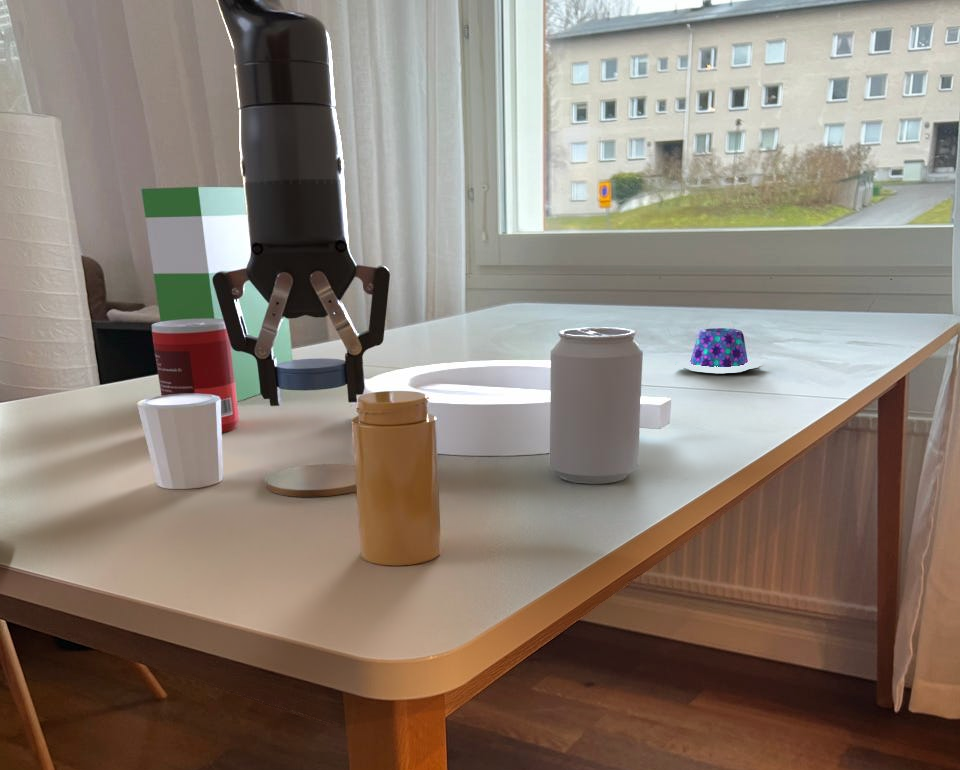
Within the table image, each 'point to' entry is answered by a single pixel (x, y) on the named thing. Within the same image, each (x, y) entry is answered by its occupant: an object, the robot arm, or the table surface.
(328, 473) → the coaster
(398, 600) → the table surface
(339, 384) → the lid
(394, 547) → the jar
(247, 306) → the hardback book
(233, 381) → the canned food
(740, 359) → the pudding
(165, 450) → the white faceted cup
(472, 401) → the white circle with bar
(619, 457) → the can
